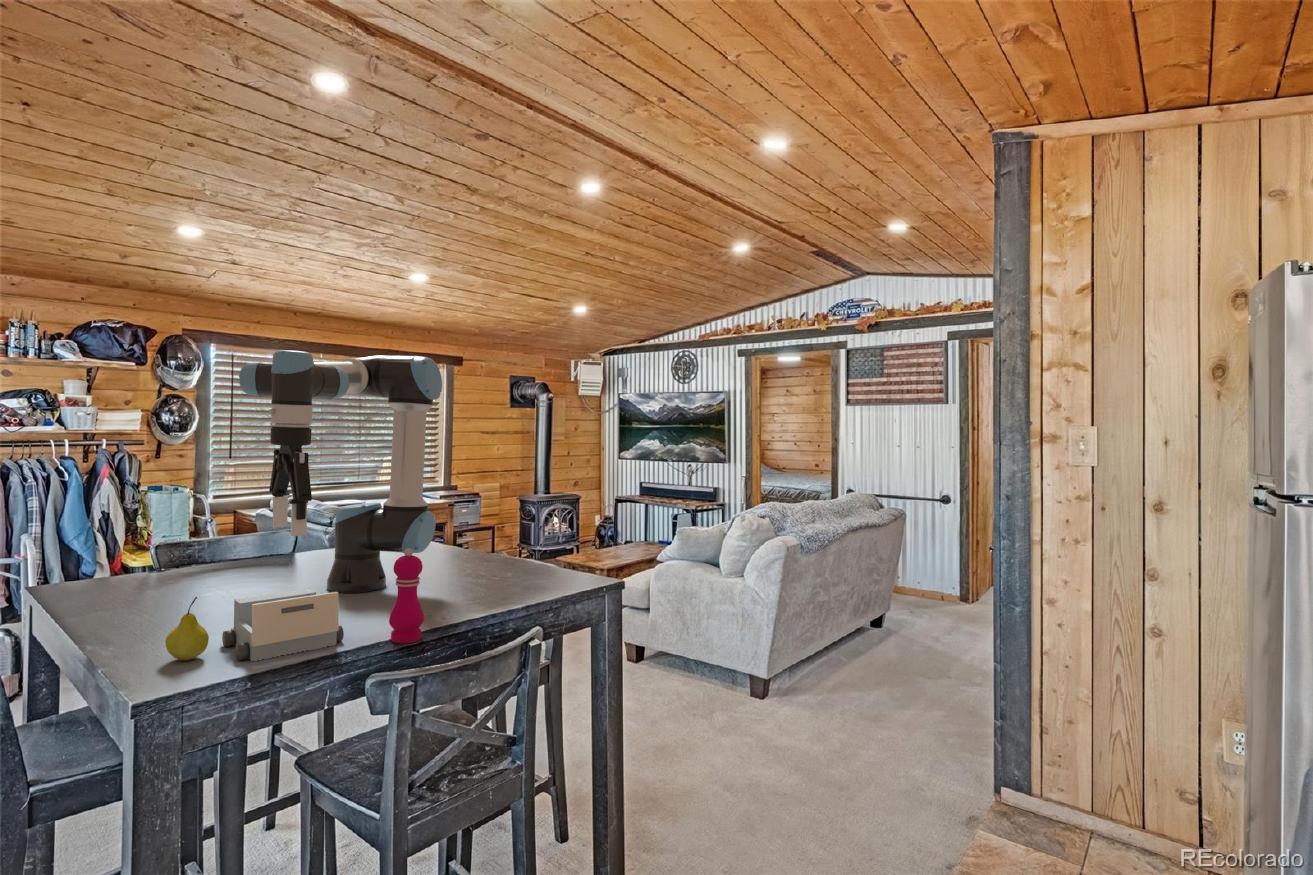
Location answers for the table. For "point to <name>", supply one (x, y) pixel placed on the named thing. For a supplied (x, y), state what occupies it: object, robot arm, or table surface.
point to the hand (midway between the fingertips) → (289, 531)
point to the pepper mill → (407, 600)
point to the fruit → (187, 638)
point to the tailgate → (294, 618)
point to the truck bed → (245, 650)
